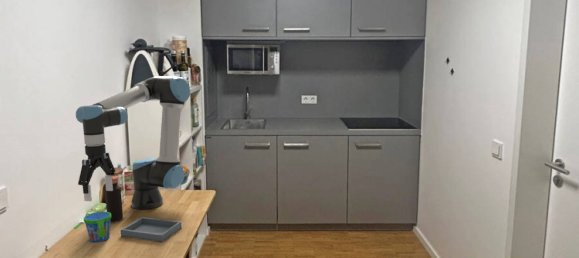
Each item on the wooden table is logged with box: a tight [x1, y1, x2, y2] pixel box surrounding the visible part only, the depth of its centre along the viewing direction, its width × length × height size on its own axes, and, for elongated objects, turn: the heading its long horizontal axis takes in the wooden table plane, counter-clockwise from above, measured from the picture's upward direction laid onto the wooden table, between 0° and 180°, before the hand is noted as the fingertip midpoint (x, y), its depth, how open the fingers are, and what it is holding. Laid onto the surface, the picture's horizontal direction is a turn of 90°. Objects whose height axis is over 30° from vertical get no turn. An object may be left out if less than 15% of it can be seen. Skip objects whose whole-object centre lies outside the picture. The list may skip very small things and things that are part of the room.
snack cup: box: [83, 211, 111, 243], centre depth 186 cm, size 16×10×10 cm
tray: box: [120, 216, 183, 243], centre depth 193 cm, size 15×20×3 cm
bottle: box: [104, 175, 124, 223], centre depth 207 cm, size 7×7×20 cm
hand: (99, 195), depth 184 cm, fingers open, 13 cm apart
